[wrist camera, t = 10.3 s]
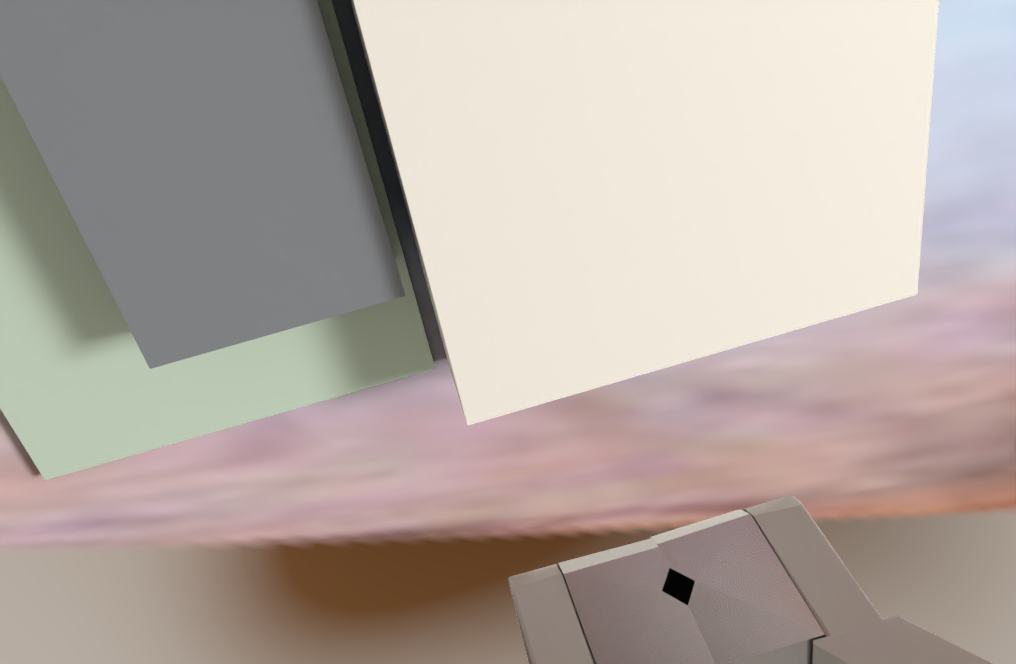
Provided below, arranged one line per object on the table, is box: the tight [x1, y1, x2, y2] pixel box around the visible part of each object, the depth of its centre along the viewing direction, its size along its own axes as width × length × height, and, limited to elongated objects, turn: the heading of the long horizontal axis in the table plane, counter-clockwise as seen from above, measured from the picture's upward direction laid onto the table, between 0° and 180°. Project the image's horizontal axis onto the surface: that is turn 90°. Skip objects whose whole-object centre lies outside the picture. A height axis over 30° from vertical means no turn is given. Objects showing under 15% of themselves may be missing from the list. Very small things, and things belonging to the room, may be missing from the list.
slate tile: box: [0, 0, 405, 369], centre depth 27 cm, size 12×8×2 cm, turn 11°
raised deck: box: [350, 0, 939, 425], centre depth 27 cm, size 22×16×4 cm
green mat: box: [0, 0, 435, 480], centre depth 27 cm, size 22×14×1 cm, turn 11°
